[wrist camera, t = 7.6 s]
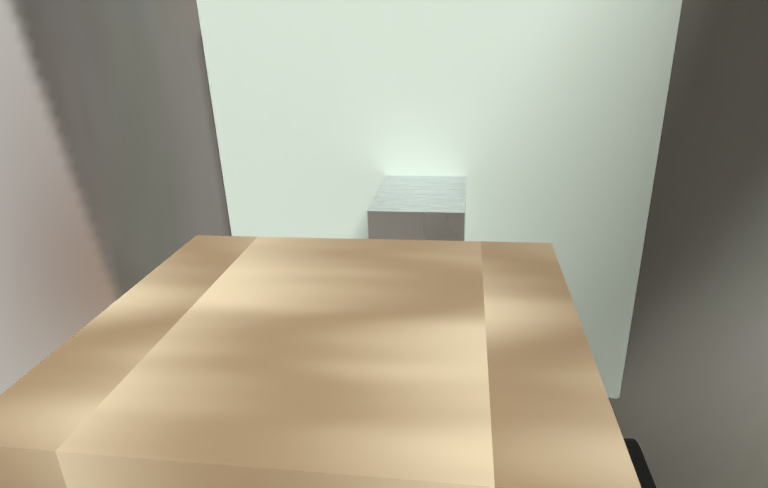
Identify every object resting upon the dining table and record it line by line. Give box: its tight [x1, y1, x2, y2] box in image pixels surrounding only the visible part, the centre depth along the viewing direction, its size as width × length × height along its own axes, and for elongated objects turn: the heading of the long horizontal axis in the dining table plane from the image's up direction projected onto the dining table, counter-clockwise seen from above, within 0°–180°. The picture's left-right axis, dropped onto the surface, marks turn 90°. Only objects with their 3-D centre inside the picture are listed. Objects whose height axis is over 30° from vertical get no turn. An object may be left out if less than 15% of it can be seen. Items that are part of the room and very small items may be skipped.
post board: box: [197, 0, 682, 398], centre depth 20 cm, size 16×16×6 cm
